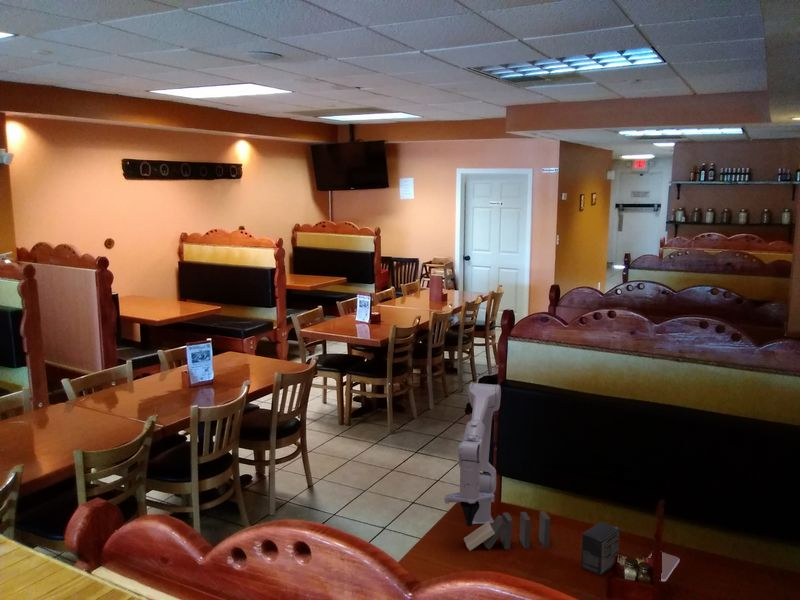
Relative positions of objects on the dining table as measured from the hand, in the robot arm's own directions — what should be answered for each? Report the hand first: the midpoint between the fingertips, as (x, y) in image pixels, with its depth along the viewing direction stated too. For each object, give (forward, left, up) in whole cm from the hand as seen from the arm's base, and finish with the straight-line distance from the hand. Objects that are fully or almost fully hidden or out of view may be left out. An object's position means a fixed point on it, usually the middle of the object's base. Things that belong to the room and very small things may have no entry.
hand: (468, 524), depth 194 cm
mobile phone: (+15, +52, -8) cm, 54 cm away
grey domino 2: (0, +17, -7) cm, 18 cm away
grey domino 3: (0, +23, -7) cm, 24 cm away
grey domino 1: (0, +5, -6) cm, 8 cm away
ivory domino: (0, -1, -6) cm, 6 cm away
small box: (+13, +35, -7) cm, 38 cm away
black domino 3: (0, +11, -7) cm, 13 cm away
